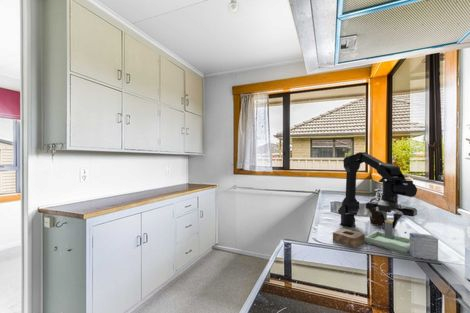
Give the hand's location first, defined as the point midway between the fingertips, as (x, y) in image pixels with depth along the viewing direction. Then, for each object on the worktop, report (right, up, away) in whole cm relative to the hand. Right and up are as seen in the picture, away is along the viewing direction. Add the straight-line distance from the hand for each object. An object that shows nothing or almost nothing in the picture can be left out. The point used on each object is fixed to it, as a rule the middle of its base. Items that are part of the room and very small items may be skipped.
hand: (389, 227), depth 103 cm
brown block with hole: (-17, -8, +3) cm, 19 cm away
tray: (0, -8, 0) cm, 8 cm away
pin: (0, -5, 0) cm, 5 cm away
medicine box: (+4, -8, -13) cm, 16 cm away
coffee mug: (+12, -8, +29) cm, 33 cm away
